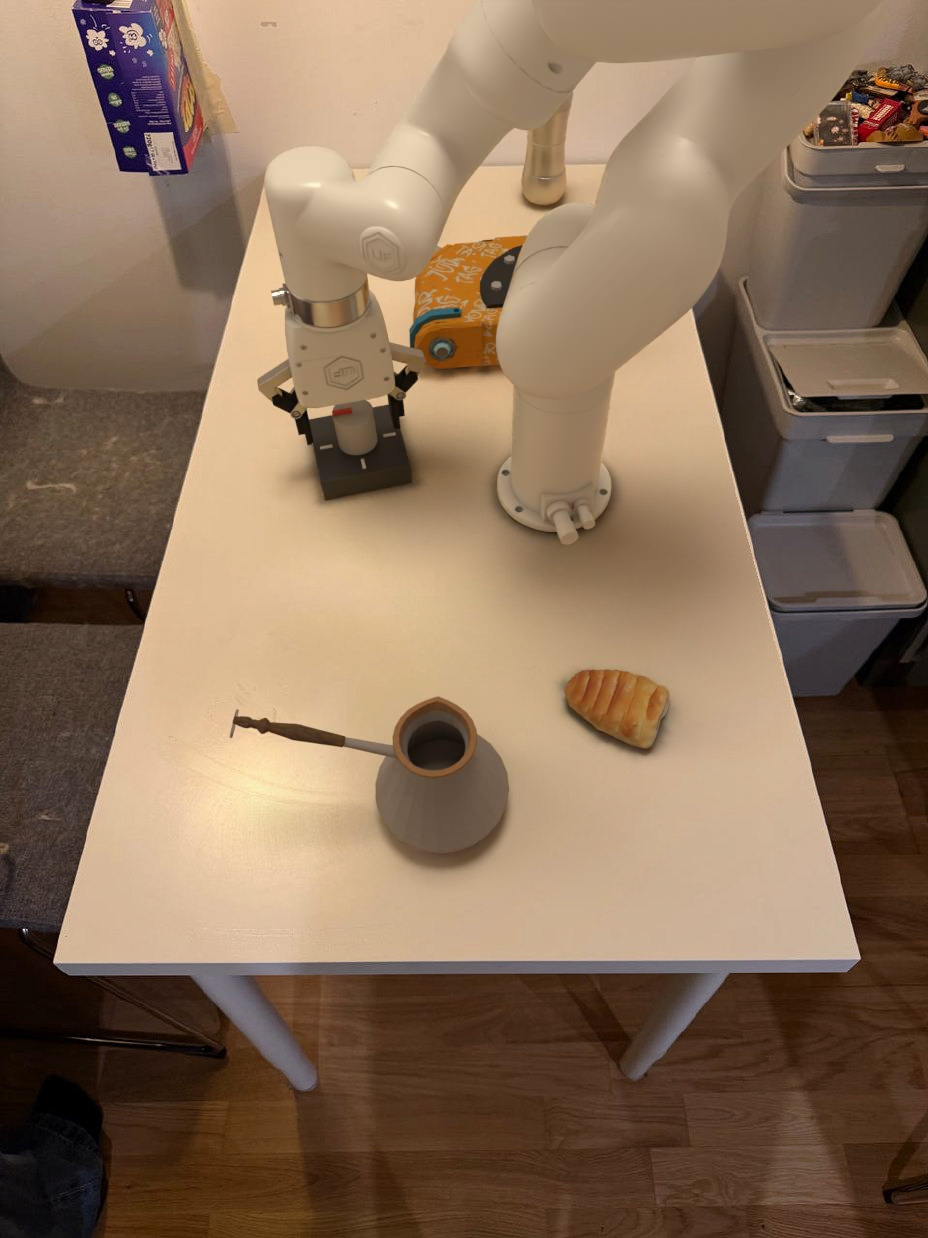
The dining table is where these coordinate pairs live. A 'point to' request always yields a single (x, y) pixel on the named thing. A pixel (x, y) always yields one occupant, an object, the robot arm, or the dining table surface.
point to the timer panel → (360, 459)
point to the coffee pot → (425, 774)
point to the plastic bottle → (547, 159)
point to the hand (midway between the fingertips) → (352, 428)
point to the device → (463, 302)
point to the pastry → (619, 704)
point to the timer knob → (355, 427)
